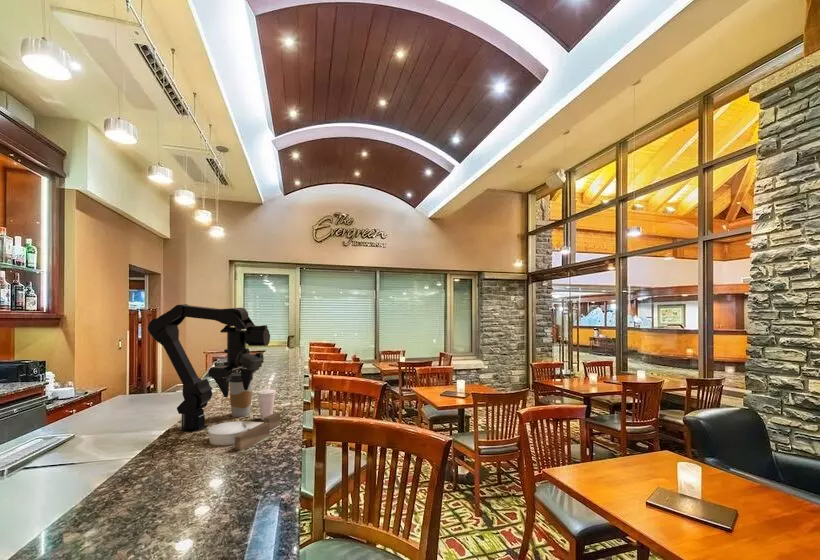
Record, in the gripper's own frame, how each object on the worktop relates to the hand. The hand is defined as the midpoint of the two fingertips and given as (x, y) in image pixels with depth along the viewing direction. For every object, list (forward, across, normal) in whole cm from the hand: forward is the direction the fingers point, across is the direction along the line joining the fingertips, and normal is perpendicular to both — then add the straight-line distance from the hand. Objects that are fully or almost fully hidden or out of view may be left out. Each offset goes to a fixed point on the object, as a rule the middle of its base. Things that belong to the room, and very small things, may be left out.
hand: (236, 393), depth 135 cm
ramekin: (+13, -9, -5) cm, 17 cm away
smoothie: (+12, +13, -2) cm, 18 cm away
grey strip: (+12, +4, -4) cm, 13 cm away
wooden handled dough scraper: (+12, -9, -7) cm, 16 cm away
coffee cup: (+12, +14, +10) cm, 21 cm away
